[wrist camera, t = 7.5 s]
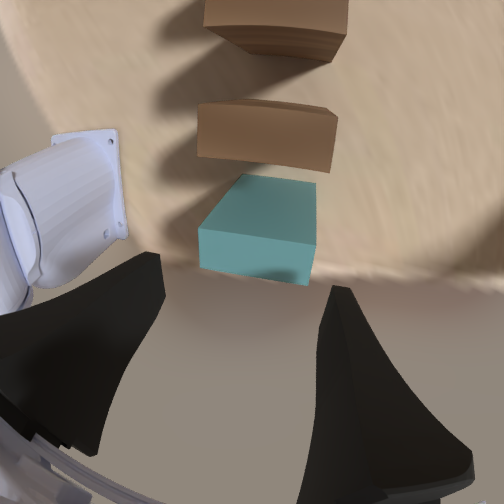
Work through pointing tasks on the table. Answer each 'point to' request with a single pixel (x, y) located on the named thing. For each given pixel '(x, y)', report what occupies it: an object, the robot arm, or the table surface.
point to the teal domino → (262, 230)
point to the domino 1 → (281, 26)
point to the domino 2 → (267, 133)
